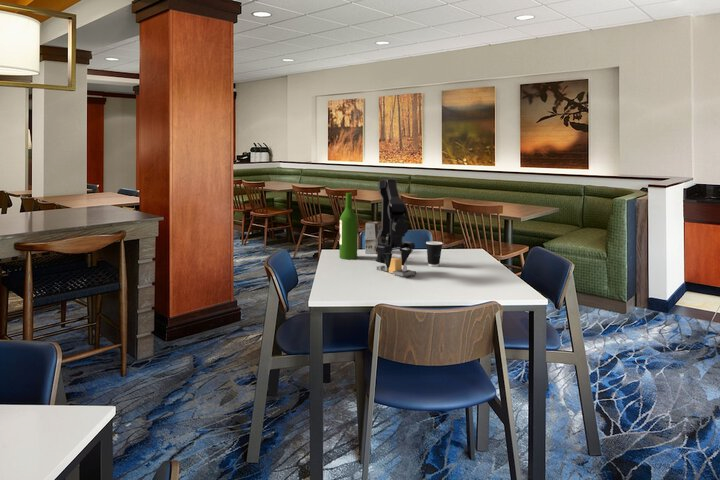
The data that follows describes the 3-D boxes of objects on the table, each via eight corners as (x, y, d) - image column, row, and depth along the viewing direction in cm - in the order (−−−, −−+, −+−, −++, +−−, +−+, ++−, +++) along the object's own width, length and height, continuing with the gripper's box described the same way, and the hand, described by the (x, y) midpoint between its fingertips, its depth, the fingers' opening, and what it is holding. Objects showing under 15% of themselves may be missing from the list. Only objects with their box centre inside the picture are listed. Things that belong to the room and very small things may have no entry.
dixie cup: (439, 267, 240) (440, 244, 238) (423, 266, 243) (423, 243, 241) (443, 264, 247) (444, 242, 245) (427, 263, 250) (428, 240, 248)
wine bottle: (337, 256, 264) (338, 192, 259) (354, 255, 266) (355, 192, 261) (341, 259, 256) (341, 193, 250) (359, 259, 258) (359, 193, 252)
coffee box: (376, 253, 272) (377, 223, 269) (364, 253, 273) (365, 223, 270) (379, 250, 281) (380, 221, 278) (367, 250, 282) (368, 220, 279)
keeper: (404, 273, 228) (404, 263, 227) (414, 275, 223) (414, 265, 223) (394, 275, 224) (394, 264, 223) (404, 277, 219) (404, 267, 219)
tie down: (372, 270, 234) (372, 256, 233) (383, 268, 238) (383, 255, 237) (404, 276, 219) (404, 262, 218) (415, 273, 223) (415, 260, 222)
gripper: (398, 227, 237) (397, 261, 239) (367, 231, 225) (367, 266, 227) (416, 230, 228) (415, 265, 231) (385, 234, 216) (385, 270, 219)
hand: (395, 266), depth 227 cm, fingers open, 9 cm apart
